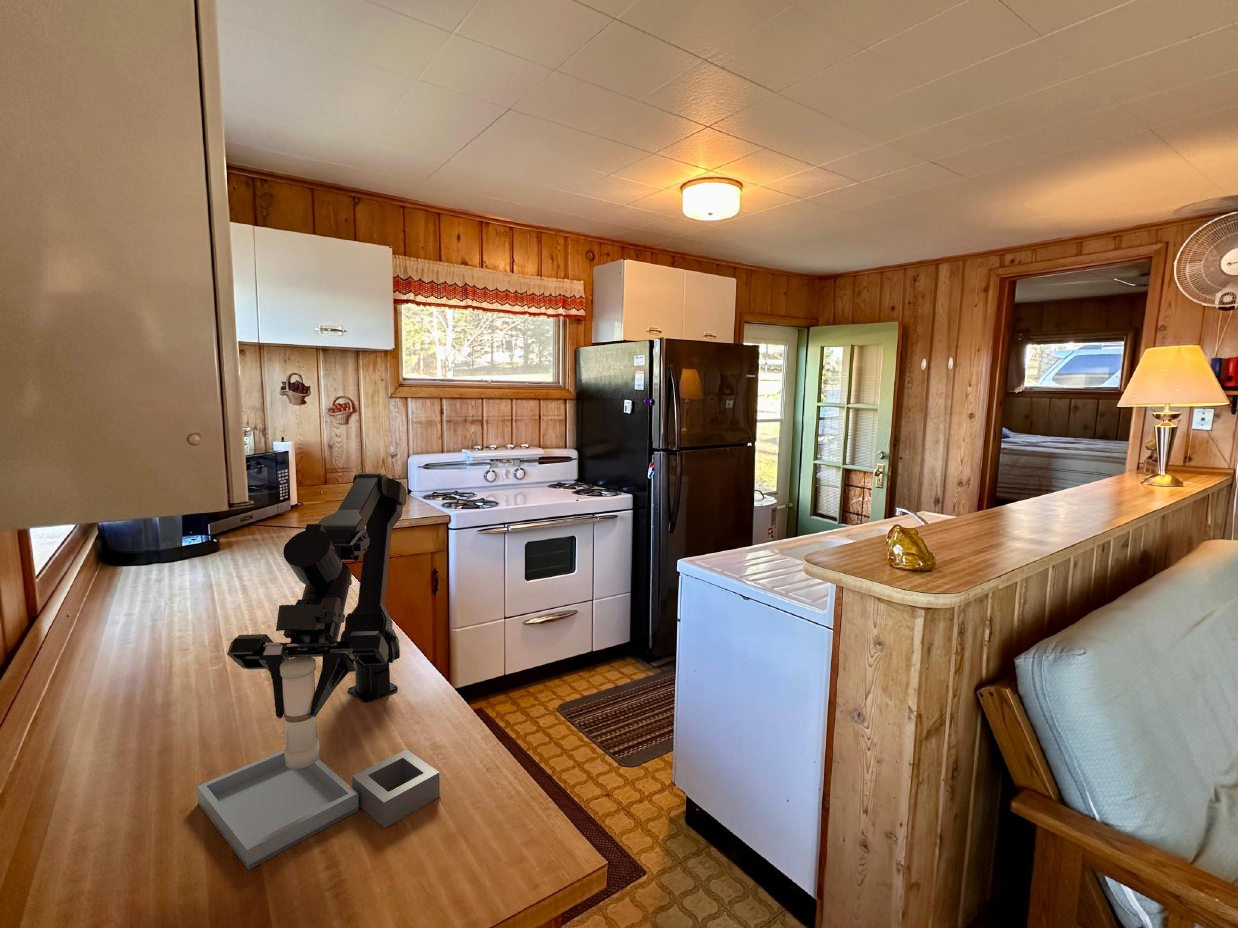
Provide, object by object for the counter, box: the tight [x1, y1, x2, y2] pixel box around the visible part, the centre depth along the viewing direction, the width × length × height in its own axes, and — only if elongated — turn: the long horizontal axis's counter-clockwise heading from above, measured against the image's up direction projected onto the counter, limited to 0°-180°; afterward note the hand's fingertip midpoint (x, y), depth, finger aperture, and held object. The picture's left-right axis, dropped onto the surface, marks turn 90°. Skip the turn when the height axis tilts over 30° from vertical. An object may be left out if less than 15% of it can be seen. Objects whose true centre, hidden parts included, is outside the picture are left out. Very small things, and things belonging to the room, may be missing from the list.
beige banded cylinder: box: [280, 656, 321, 769], centre depth 78 cm, size 4×4×13 cm
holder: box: [351, 749, 441, 829], centre depth 81 cm, size 8×8×4 cm
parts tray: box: [196, 749, 360, 871], centre depth 79 cm, size 17×13×2 cm
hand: (295, 716), depth 76 cm, fingers closed on beige banded cylinder, 4 cm apart
